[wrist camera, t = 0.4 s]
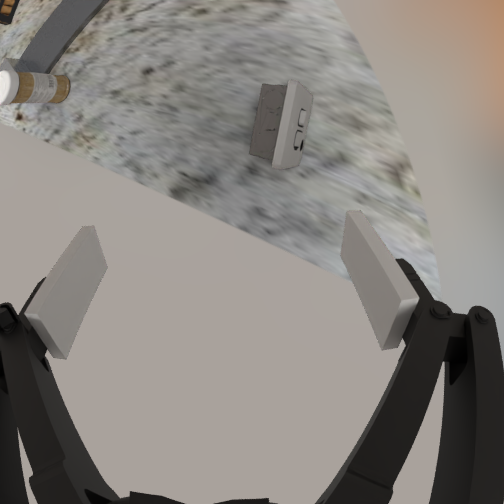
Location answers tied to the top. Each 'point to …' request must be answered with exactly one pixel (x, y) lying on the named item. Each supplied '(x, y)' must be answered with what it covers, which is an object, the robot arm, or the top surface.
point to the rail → (55, 36)
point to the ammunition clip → (7, 10)
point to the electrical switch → (281, 124)
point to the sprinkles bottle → (32, 87)
